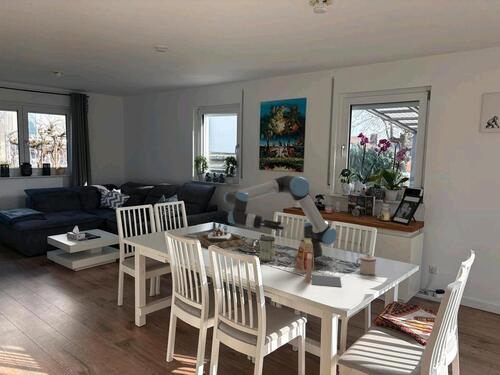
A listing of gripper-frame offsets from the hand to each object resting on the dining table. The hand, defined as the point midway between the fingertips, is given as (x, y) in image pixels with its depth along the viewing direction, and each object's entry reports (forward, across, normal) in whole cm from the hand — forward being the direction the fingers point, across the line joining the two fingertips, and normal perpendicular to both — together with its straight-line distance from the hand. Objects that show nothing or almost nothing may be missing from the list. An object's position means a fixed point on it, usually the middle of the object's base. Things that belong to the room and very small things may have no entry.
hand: (290, 228), depth 215 cm
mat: (+25, 0, -26) cm, 36 cm away
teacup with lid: (+48, -22, -21) cm, 57 cm away
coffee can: (-14, -35, -27) cm, 46 cm away
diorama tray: (-55, -67, -29) cm, 91 cm away
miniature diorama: (-56, -67, -30) cm, 92 cm away
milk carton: (+12, -20, -26) cm, 35 cm away
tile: (+15, 0, -27) cm, 31 cm away
